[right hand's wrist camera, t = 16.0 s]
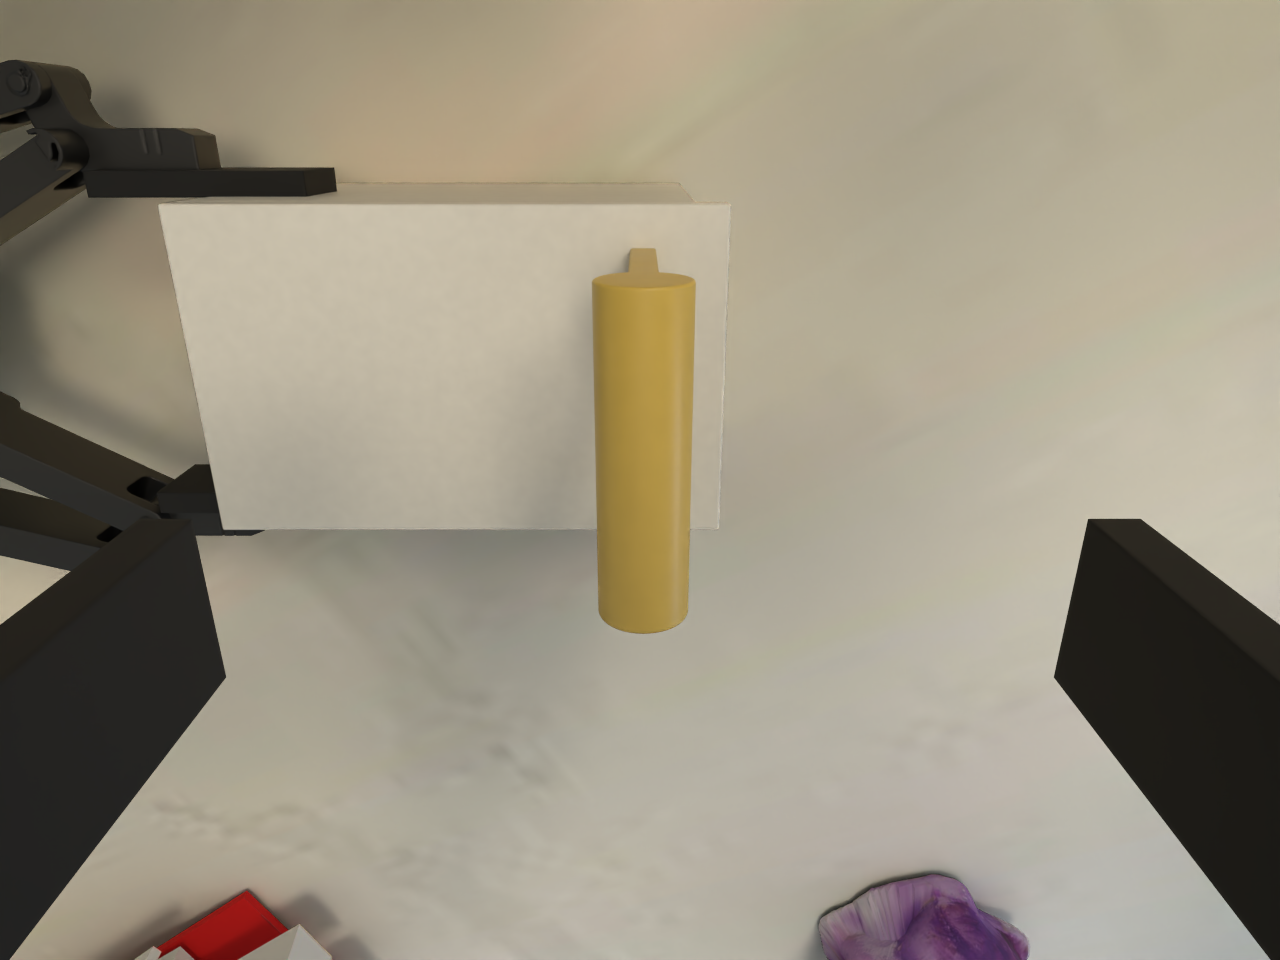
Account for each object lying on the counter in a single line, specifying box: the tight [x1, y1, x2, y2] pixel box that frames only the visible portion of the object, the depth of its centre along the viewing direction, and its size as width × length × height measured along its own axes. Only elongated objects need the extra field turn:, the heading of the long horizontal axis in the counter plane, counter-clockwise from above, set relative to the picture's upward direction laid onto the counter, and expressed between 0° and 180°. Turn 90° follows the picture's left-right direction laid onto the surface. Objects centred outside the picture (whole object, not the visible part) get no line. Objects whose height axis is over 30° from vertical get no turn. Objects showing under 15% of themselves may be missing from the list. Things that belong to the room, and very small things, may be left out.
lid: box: [158, 202, 731, 634], centre depth 21 cm, size 15×10×8 cm, turn 90°
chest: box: [175, 183, 695, 202], centre depth 30 cm, size 14×10×10 cm, turn 90°
